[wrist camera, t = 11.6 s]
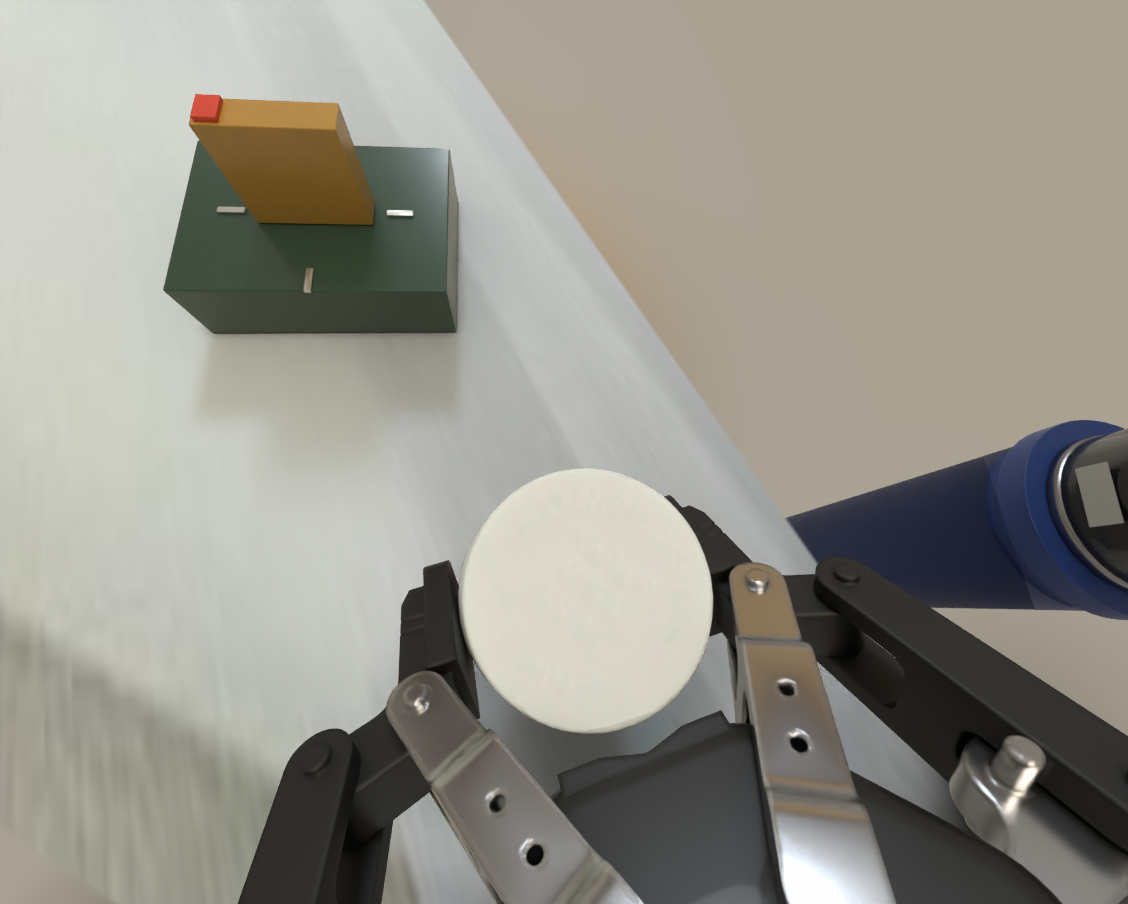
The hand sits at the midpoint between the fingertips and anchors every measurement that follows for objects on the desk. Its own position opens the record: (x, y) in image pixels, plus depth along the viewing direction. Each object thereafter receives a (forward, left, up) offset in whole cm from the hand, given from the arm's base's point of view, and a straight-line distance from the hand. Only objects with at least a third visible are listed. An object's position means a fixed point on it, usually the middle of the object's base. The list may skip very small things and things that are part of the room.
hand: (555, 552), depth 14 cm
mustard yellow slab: (+12, -19, -7) cm, 24 cm away
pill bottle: (0, +1, -7) cm, 7 cm away
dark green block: (+12, -19, -11) cm, 25 cm away
